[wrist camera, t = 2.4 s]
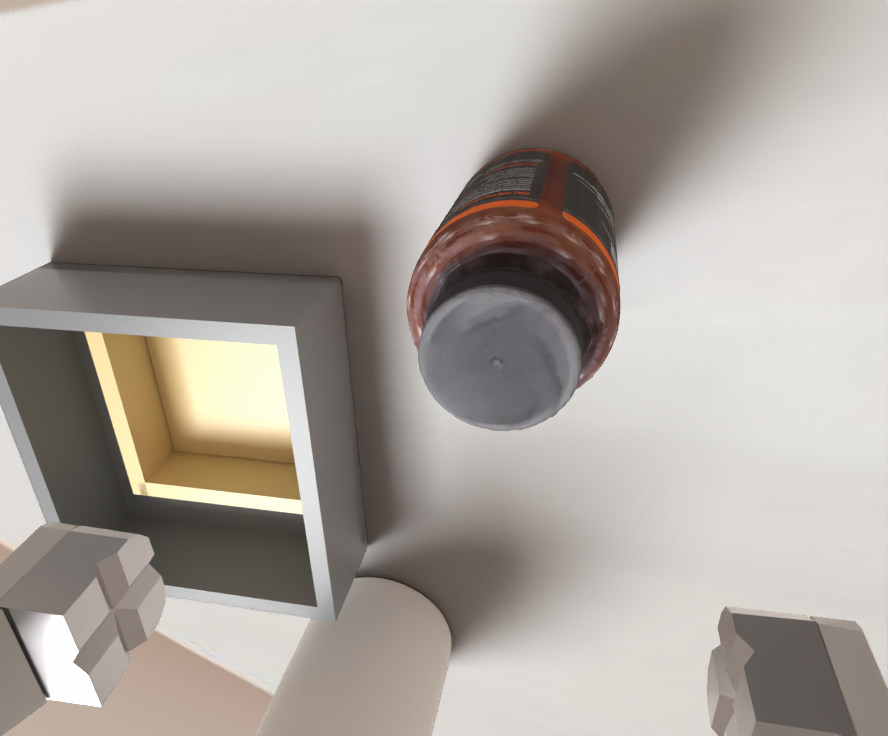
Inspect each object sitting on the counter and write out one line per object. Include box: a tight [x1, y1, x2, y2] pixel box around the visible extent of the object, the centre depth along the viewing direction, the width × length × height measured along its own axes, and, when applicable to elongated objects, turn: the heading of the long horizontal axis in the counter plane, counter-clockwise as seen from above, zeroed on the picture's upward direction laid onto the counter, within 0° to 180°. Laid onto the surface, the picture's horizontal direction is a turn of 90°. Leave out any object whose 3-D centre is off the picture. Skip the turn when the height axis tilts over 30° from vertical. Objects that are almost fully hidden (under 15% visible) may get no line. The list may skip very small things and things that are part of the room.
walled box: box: [0, 262, 368, 622], centre depth 31 cm, size 15×14×5 cm
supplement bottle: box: [407, 148, 620, 431], centre depth 21 cm, size 6×6×11 cm
